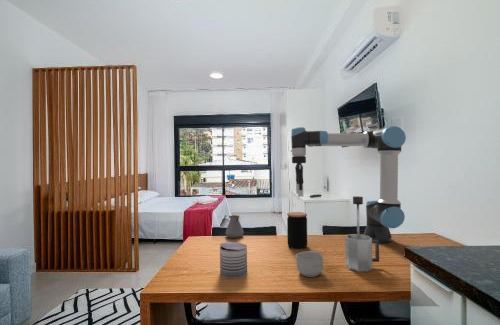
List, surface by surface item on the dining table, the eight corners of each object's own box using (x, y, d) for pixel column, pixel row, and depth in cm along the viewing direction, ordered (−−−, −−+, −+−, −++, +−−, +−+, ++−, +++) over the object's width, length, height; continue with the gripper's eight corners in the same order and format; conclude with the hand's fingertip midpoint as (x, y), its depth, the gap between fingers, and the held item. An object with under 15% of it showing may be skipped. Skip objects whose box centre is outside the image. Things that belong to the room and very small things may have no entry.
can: (220, 268, 122) (220, 241, 122) (246, 267, 123) (246, 240, 123) (219, 279, 111) (219, 248, 111) (248, 278, 111) (247, 247, 111)
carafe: (373, 262, 127) (373, 234, 127) (384, 271, 116) (383, 240, 116) (343, 262, 127) (342, 234, 127) (350, 271, 116) (350, 240, 117)
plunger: (364, 240, 125) (363, 195, 126) (371, 245, 118) (370, 197, 118) (346, 240, 126) (345, 195, 126) (352, 245, 118) (351, 198, 118)
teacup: (318, 281, 107) (317, 260, 107) (291, 276, 113) (291, 256, 113) (328, 269, 119) (328, 251, 119) (304, 265, 125) (304, 247, 125)
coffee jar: (306, 243, 158) (305, 211, 158) (308, 249, 147) (307, 215, 147) (287, 243, 159) (286, 211, 159) (287, 249, 148) (287, 215, 148)
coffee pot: (224, 235, 180) (224, 211, 180) (242, 233, 182) (241, 210, 182) (228, 244, 159) (228, 217, 159) (248, 242, 161) (248, 216, 162)
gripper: (290, 156, 165) (291, 192, 165) (293, 155, 140) (294, 197, 140) (303, 156, 164) (304, 192, 164) (308, 155, 140) (309, 197, 139)
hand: (299, 195), depth 152 cm, fingers open, 13 cm apart
